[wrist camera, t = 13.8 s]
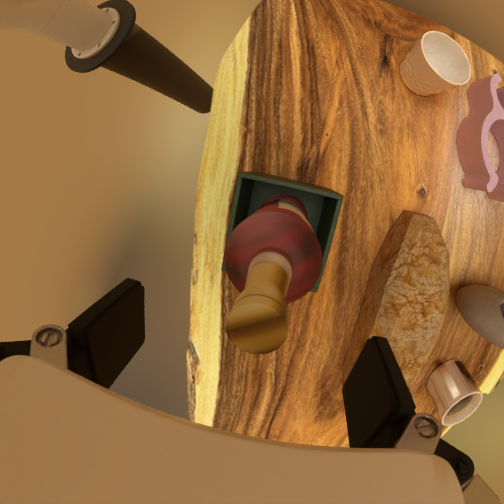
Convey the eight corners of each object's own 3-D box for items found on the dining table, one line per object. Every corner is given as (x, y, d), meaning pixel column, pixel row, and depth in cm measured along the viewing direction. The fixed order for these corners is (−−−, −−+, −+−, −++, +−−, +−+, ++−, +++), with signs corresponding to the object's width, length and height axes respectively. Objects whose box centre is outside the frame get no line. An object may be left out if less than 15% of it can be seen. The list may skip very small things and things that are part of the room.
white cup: (433, 60, 27) (463, 40, 17) (441, 103, 29) (476, 91, 19) (391, 51, 28) (415, 24, 18) (399, 95, 30) (428, 77, 21)
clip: (457, 71, 26) (479, 61, 20) (505, 101, 25) (527, 97, 18) (451, 182, 32) (475, 186, 26) (499, 203, 31) (522, 209, 25)
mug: (418, 396, 45) (432, 431, 34) (433, 355, 41) (454, 391, 31) (454, 387, 43) (471, 418, 32) (471, 346, 40) (494, 378, 29)
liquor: (248, 202, 38) (148, 280, 11) (297, 183, 36) (310, 220, 10) (268, 249, 40) (219, 397, 13) (316, 232, 38) (356, 367, 11)
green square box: (253, 171, 37) (238, 172, 27) (330, 188, 36) (343, 195, 26) (239, 245, 40) (221, 270, 31) (311, 261, 40) (316, 292, 30)
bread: (381, 392, 45) (391, 428, 36) (332, 391, 47) (335, 430, 37) (442, 218, 34) (477, 233, 25) (383, 206, 36) (410, 218, 26)
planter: (505, 283, 35) (560, 328, 17) (492, 314, 37) (540, 366, 19) (447, 264, 36) (512, 318, 18) (432, 302, 38) (484, 368, 21)
